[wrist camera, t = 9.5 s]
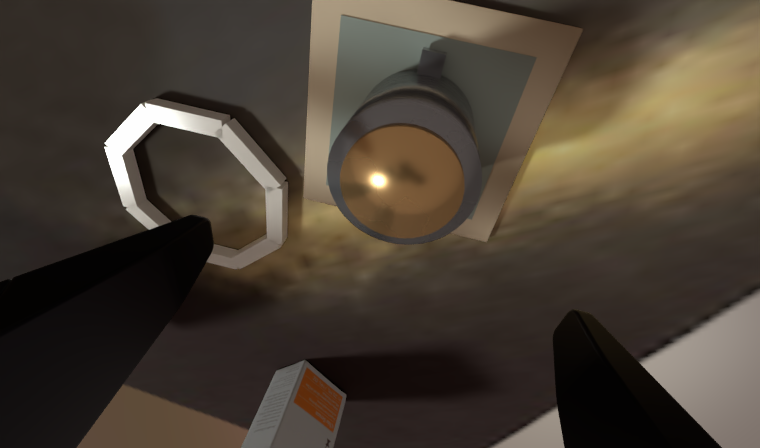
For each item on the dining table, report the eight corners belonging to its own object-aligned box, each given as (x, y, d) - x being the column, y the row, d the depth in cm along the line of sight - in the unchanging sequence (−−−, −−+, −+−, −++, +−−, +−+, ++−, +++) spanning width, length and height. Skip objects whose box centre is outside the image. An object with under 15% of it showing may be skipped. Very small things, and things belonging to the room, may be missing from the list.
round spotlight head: (499, 63, 15) (522, 102, 10) (448, 206, 19) (447, 281, 14) (371, 33, 15) (334, 57, 10) (350, 182, 19) (316, 247, 15)
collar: (286, 272, 25) (281, 281, 24) (144, 236, 25) (135, 244, 25) (289, 128, 19) (282, 134, 18) (99, 84, 19) (85, 88, 18)
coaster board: (485, 238, 20) (486, 242, 20) (305, 194, 21) (302, 198, 21) (580, 27, 14) (584, 29, 14) (316, -29, 14) (313, -29, 14)
